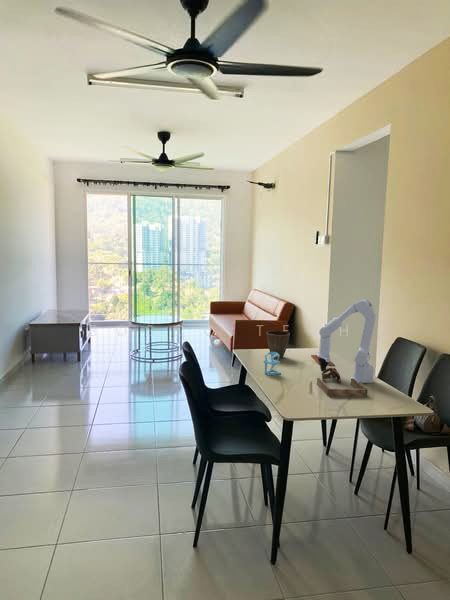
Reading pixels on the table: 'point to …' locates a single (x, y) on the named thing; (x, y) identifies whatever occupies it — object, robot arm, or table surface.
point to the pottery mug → (331, 374)
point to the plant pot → (278, 342)
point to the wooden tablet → (318, 360)
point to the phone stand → (272, 362)
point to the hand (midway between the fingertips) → (323, 371)
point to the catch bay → (344, 390)
